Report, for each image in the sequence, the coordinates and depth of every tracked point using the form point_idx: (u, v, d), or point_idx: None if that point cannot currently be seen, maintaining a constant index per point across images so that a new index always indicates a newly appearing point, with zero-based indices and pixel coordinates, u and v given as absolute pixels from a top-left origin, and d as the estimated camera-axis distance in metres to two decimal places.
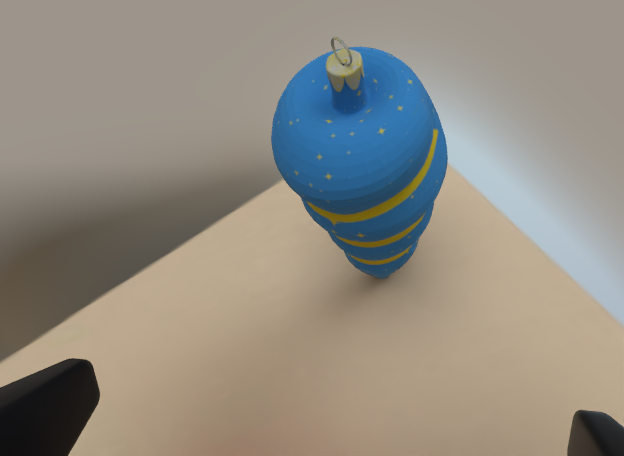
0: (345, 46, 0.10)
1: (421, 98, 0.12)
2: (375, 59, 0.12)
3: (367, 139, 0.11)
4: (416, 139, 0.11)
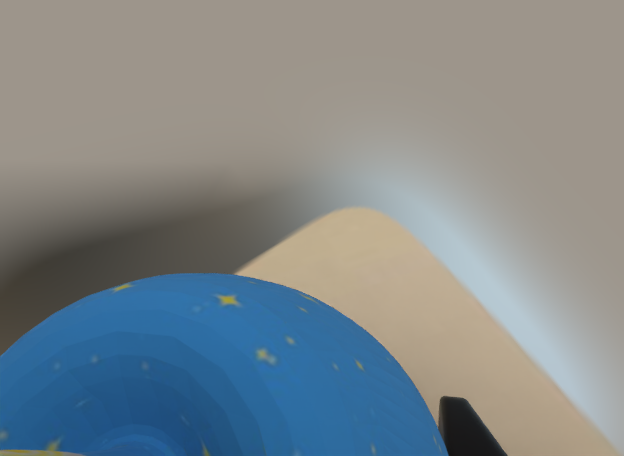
0: None
1: None
2: (210, 371, 0.03)
3: None
4: None
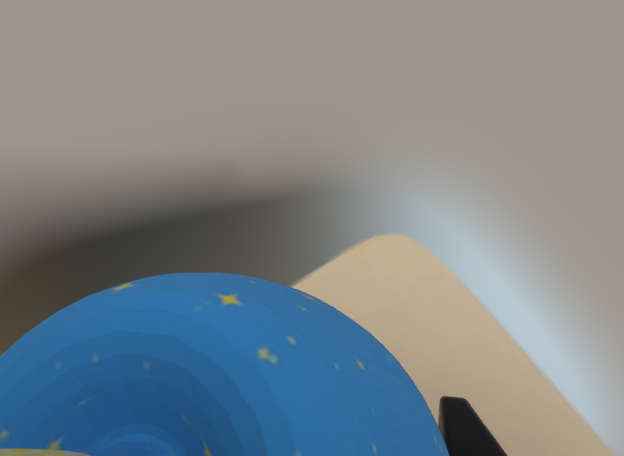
0: None
1: None
2: (210, 372, 0.03)
3: None
4: None
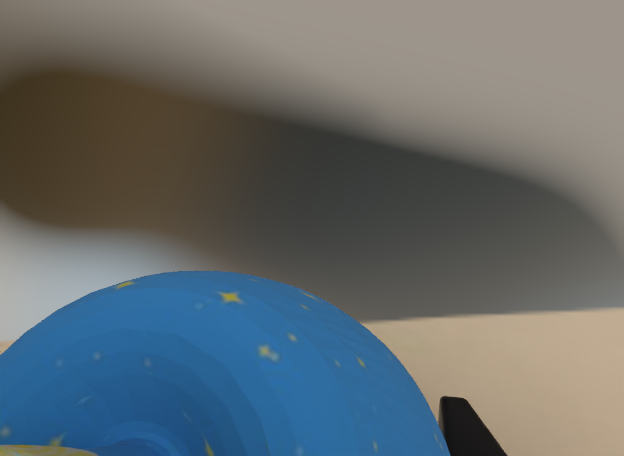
0: None
1: None
2: (212, 369, 0.03)
3: None
4: None
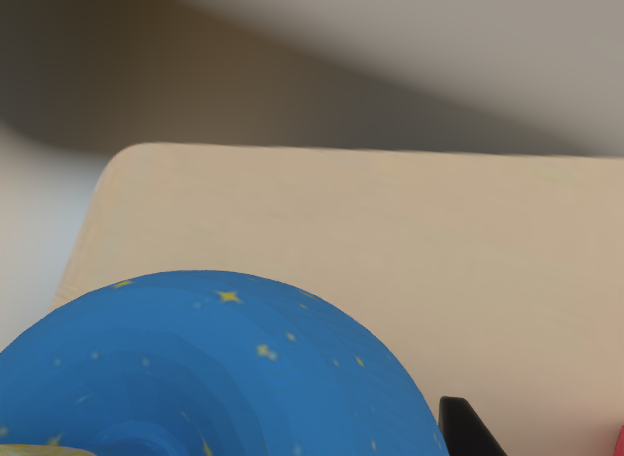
0: None
1: None
2: (210, 367, 0.03)
3: None
4: None
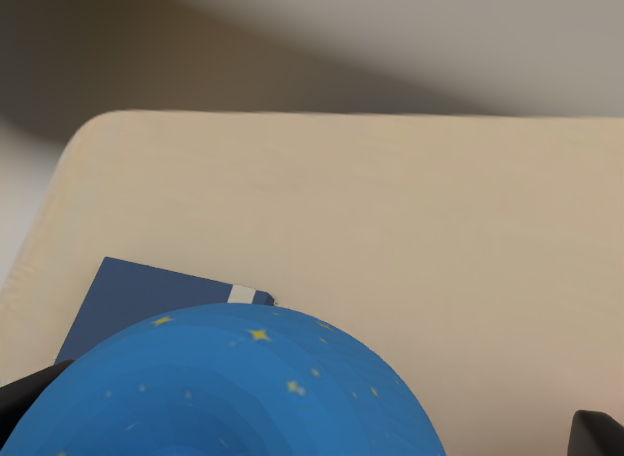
0: None
1: None
2: (246, 403, 0.04)
3: None
4: None
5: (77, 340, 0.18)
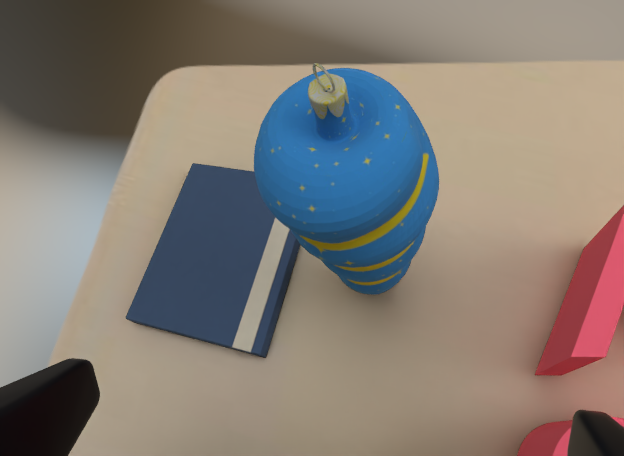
0: (327, 73, 0.10)
1: (409, 124, 0.11)
2: (361, 82, 0.11)
3: (352, 170, 0.10)
4: (404, 169, 0.11)
5: (178, 216, 0.26)
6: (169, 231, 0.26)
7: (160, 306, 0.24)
